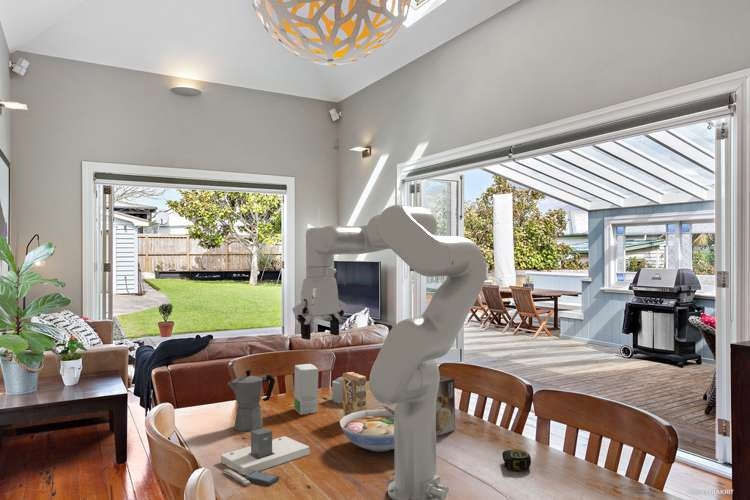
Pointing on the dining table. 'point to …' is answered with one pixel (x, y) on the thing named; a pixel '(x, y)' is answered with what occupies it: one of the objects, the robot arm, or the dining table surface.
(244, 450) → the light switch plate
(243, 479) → the grey thin stick
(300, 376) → the skincare box
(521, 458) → the tape measure
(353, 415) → the ramen bowl
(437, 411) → the coffee box
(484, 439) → the dining table surface
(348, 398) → the candy box
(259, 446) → the block
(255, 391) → the coffeepot
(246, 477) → the phone
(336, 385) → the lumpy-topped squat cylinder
